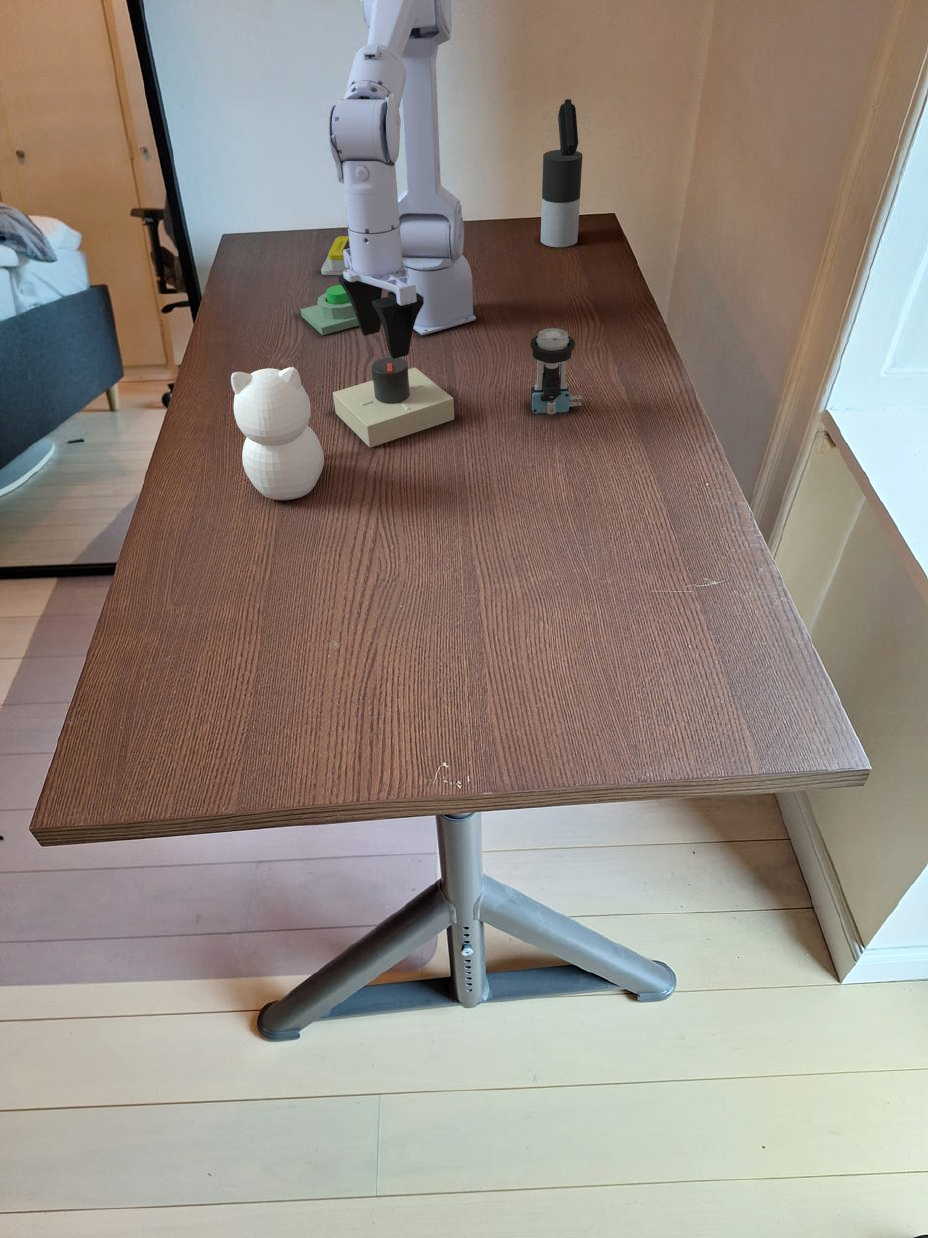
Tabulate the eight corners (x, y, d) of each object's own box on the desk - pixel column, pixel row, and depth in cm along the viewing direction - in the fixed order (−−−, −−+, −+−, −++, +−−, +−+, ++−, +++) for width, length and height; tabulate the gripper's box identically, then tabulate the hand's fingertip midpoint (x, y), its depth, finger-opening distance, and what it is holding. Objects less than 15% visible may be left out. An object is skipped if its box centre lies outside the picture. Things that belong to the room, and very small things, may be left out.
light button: (345, 294, 131) (343, 283, 130) (355, 302, 129) (354, 290, 127) (323, 300, 130) (322, 288, 128) (333, 308, 127) (332, 296, 126)
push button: (578, 397, 111) (583, 323, 104) (583, 418, 107) (589, 343, 100) (527, 399, 111) (528, 325, 104) (530, 420, 107) (532, 345, 100)
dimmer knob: (374, 387, 108) (370, 356, 105) (408, 384, 108) (406, 353, 105) (375, 404, 105) (371, 372, 102) (410, 402, 105) (408, 369, 102)
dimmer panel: (416, 387, 114) (415, 365, 112) (454, 419, 108) (453, 396, 106) (335, 413, 110) (332, 391, 108) (369, 448, 103) (367, 425, 101)
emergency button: (327, 228, 147) (413, 227, 146) (330, 254, 150) (415, 253, 149) (316, 248, 141) (406, 247, 139) (320, 274, 144) (408, 274, 142)
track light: (540, 259, 154) (555, 202, 134) (533, 167, 154) (547, 97, 134) (576, 257, 154) (596, 200, 134) (569, 165, 155) (588, 94, 135)
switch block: (359, 301, 135) (357, 282, 133) (382, 318, 130) (380, 299, 128) (301, 316, 132) (298, 297, 130) (322, 335, 127) (319, 315, 125)
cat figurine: (247, 515, 94) (216, 392, 84) (252, 455, 103) (225, 337, 93) (328, 507, 95) (307, 384, 84) (326, 447, 104) (307, 330, 93)
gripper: (313, 214, 96) (329, 330, 105) (369, 251, 87) (382, 375, 96) (369, 203, 99) (380, 317, 108) (430, 238, 89) (436, 359, 99)
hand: (385, 344), depth 102 cm, fingers open, 7 cm apart
